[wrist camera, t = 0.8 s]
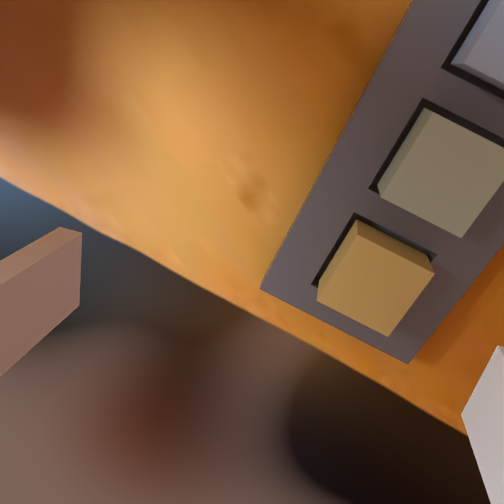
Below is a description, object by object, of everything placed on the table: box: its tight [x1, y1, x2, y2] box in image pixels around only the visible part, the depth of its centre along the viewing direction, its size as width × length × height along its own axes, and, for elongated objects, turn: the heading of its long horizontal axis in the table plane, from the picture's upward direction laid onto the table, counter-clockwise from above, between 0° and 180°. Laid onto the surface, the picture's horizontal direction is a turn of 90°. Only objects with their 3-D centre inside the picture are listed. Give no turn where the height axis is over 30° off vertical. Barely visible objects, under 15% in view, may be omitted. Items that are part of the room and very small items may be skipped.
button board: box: [260, 0, 504, 364], centre depth 32 cm, size 14×30×2 cm, turn 155°
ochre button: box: [317, 219, 435, 337], centre depth 34 cm, size 6×6×4 cm
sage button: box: [377, 108, 504, 238], centre depth 30 cm, size 6×6×4 cm
